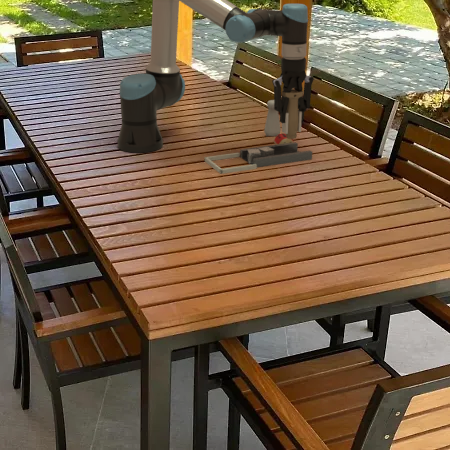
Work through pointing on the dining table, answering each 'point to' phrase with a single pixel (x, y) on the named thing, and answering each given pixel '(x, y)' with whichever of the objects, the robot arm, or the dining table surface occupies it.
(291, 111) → the handle
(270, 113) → the salt shaker
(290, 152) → the rail
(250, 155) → the pale grey cube
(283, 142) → the ladybug figurine
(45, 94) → the dining table surface
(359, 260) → the dining table surface
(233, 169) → the tray
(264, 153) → the pale beige cube
